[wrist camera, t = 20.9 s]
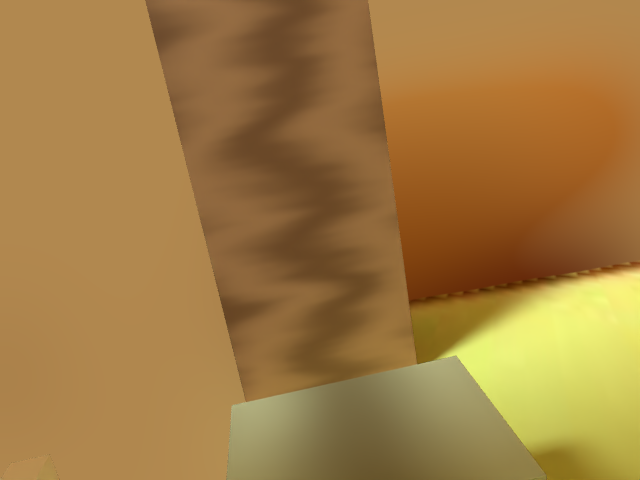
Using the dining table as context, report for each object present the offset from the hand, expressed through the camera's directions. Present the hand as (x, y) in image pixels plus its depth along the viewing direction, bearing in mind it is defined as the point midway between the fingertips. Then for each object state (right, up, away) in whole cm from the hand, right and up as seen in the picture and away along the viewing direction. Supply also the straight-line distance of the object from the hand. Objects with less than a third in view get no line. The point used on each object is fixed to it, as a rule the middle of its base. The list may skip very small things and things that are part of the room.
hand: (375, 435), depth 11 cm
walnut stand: (-1, -3, +22) cm, 22 cm away
